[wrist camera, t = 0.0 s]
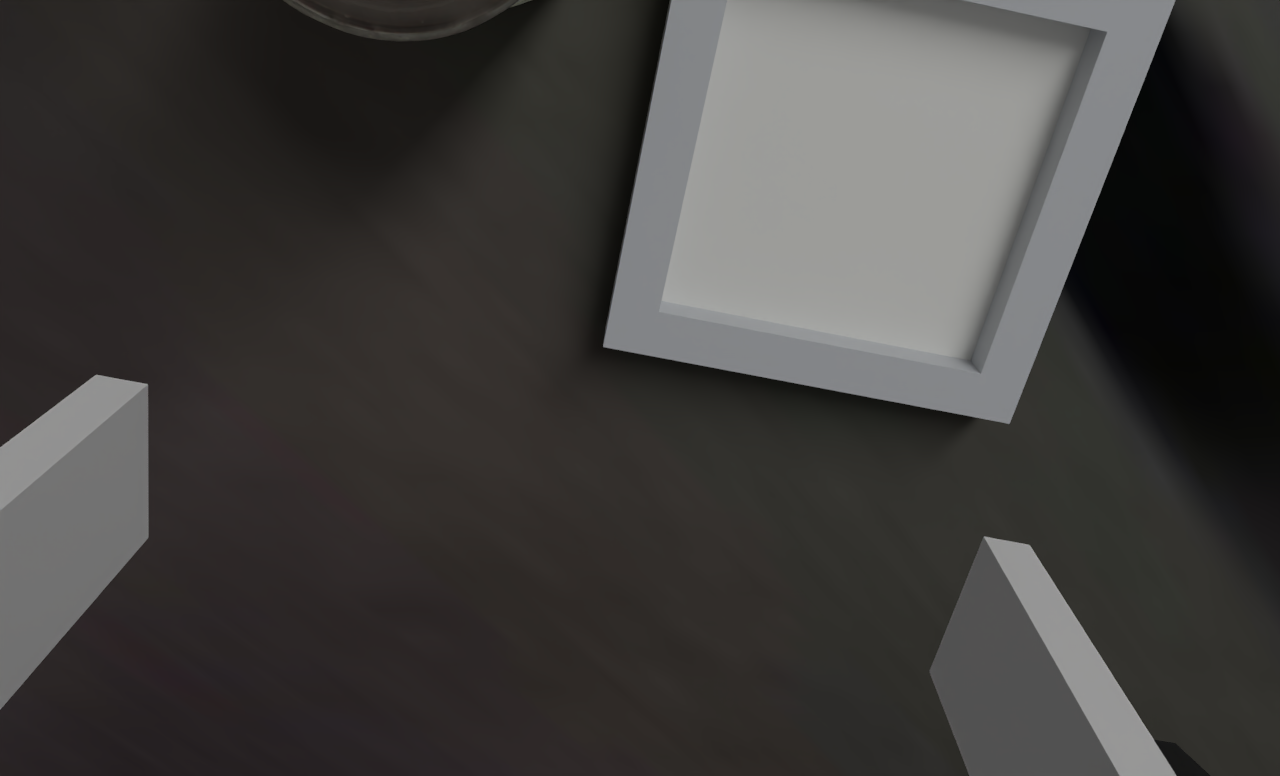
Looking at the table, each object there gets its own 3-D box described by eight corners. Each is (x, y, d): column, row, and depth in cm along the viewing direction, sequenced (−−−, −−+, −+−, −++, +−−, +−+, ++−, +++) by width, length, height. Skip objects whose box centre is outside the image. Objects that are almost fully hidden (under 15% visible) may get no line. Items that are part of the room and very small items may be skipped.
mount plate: (692, -119, 37) (695, -123, 34) (1149, -17, 38) (1180, -15, 36) (605, 326, 44) (603, 347, 42) (991, 399, 45) (1009, 423, 43)
